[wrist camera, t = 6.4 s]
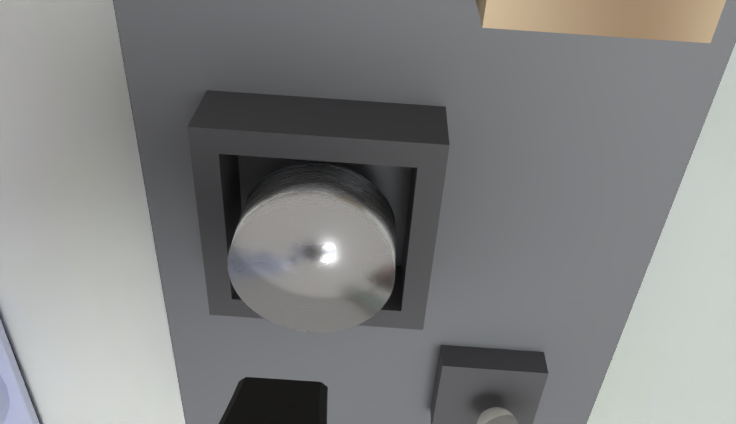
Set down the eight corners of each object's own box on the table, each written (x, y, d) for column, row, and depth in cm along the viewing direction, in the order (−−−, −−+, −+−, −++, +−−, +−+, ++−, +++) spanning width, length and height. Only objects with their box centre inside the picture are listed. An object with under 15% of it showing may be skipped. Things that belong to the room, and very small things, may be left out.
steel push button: (246, 280, 17) (233, 326, 16) (237, 156, 15) (221, 199, 14) (390, 290, 17) (388, 337, 16) (401, 168, 15) (401, 212, 13)
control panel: (199, 403, 24) (174, 484, 22) (86, -360, 12) (-3, -381, 9) (561, 429, 24) (579, 514, 22) (827, -312, 12) (944, -319, 9)
